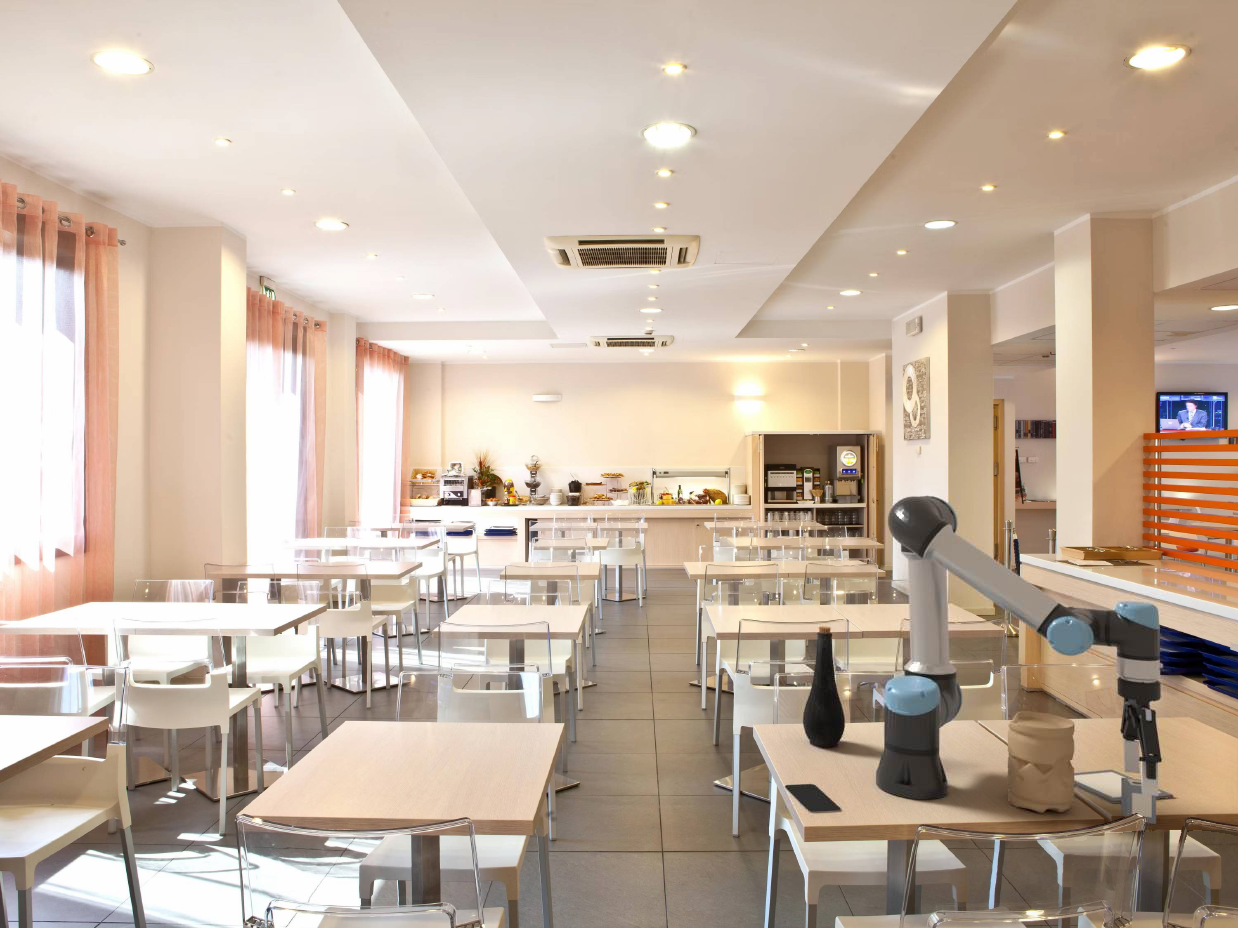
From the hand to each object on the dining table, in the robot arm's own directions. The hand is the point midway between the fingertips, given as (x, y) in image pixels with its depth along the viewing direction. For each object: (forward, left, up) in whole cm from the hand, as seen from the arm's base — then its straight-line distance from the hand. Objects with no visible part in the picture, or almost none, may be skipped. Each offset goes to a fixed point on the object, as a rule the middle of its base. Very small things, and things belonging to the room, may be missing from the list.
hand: (1140, 782), depth 168 cm
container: (-15, +10, -7) cm, 20 cm away
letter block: (0, 0, -7) cm, 7 cm away
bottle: (-40, +57, -7) cm, 70 cm away
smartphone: (-61, +24, -8) cm, 66 cm away
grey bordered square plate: (+9, +15, -7) cm, 19 cm away
